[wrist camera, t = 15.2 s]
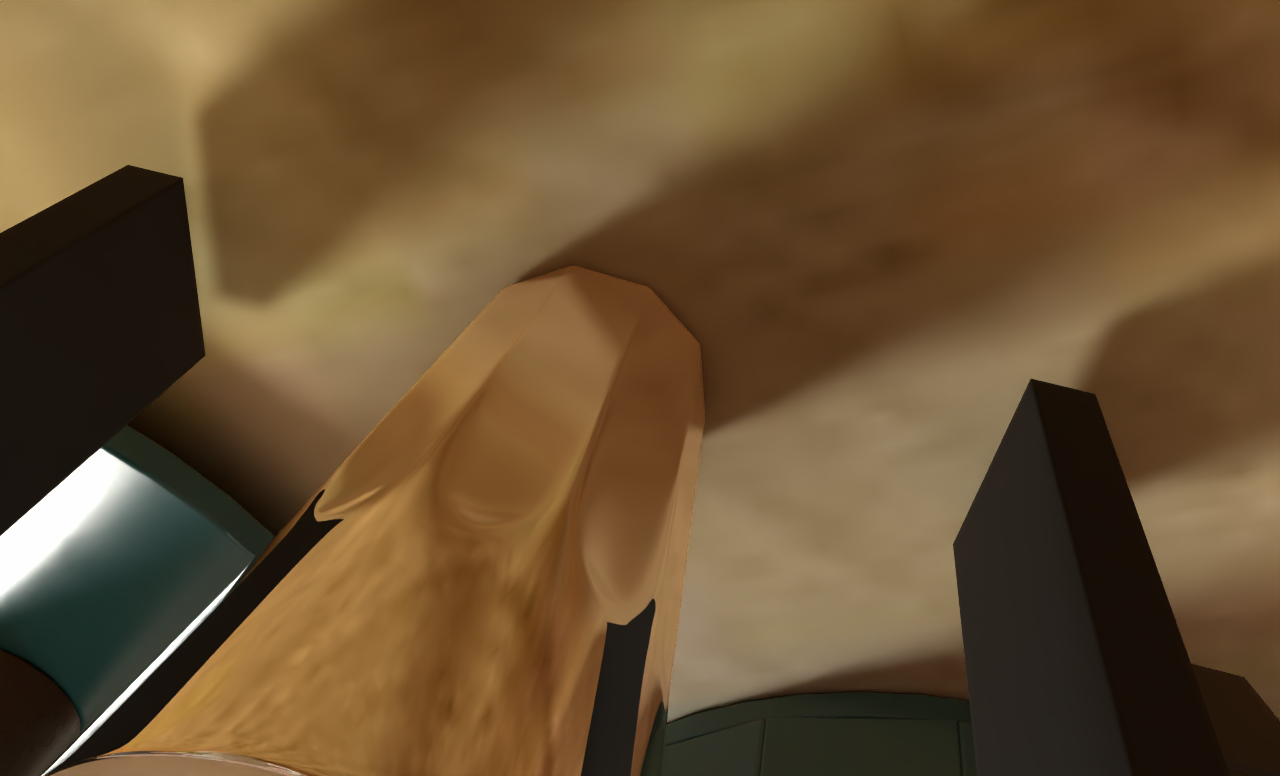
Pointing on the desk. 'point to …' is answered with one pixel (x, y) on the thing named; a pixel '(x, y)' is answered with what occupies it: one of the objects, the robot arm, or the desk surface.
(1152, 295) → the desk surface
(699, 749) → the tin
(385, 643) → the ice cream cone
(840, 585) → the desk surface
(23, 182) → the desk surface
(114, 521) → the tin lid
